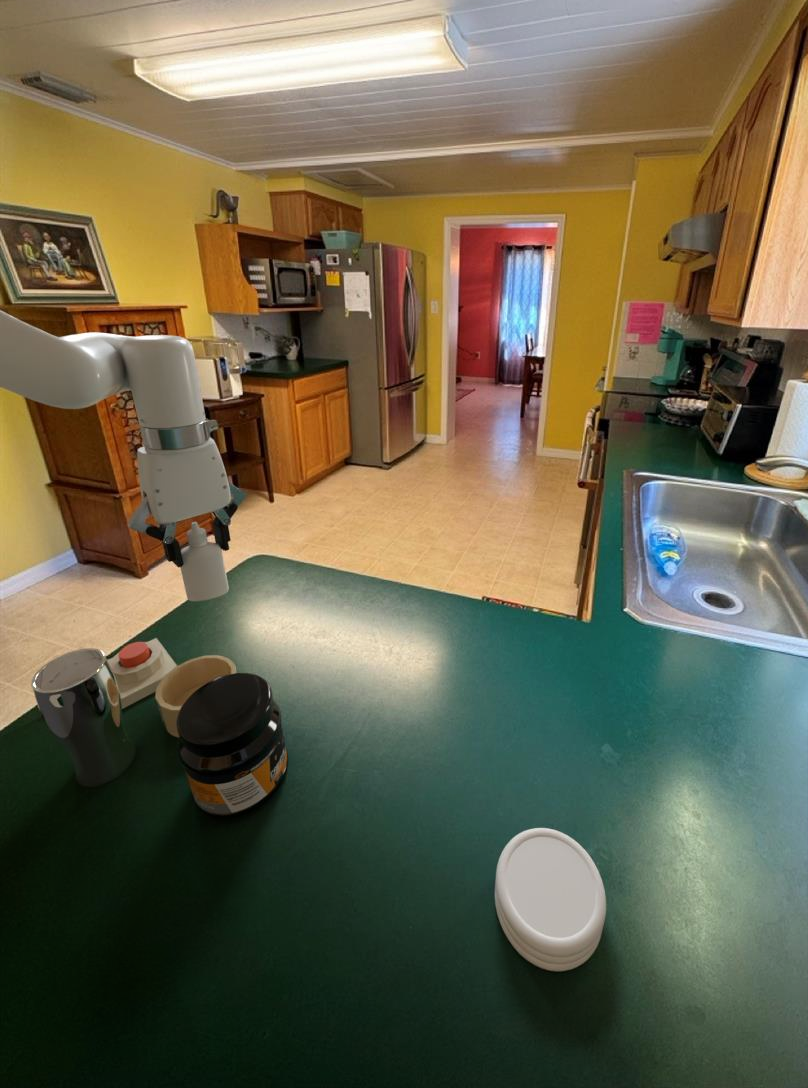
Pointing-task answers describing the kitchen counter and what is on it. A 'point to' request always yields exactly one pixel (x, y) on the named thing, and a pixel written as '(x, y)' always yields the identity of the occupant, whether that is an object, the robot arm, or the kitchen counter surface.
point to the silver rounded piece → (85, 714)
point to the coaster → (550, 899)
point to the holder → (188, 685)
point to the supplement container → (232, 745)
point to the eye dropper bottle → (203, 567)
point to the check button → (134, 654)
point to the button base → (142, 674)
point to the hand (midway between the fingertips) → (200, 554)
